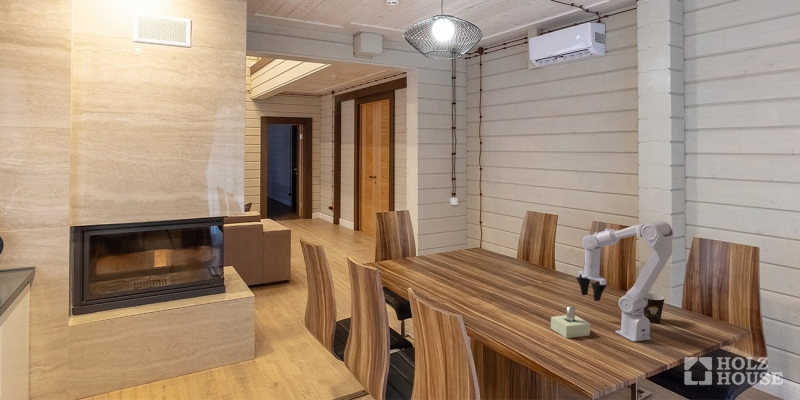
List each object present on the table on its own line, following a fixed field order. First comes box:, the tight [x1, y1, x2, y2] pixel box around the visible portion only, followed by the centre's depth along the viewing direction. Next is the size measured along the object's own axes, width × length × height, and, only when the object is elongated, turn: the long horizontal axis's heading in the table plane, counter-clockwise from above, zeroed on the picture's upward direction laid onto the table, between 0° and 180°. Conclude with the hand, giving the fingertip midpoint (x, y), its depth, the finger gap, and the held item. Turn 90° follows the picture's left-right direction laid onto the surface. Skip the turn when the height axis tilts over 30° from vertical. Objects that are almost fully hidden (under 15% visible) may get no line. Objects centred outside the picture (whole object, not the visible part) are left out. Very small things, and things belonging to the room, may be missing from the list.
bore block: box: [550, 314, 591, 339], centre depth 175 cm, size 10×10×4 cm
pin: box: [565, 305, 576, 322], centre depth 174 cm, size 3×3×8 cm
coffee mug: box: [644, 292, 666, 324], centre depth 187 cm, size 12×9×10 cm
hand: (590, 297), depth 184 cm, fingers open, 7 cm apart
